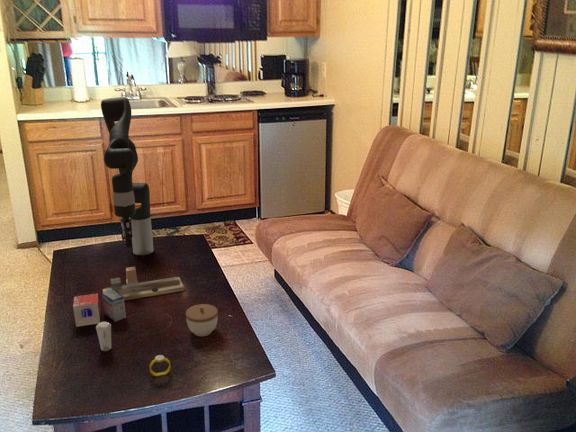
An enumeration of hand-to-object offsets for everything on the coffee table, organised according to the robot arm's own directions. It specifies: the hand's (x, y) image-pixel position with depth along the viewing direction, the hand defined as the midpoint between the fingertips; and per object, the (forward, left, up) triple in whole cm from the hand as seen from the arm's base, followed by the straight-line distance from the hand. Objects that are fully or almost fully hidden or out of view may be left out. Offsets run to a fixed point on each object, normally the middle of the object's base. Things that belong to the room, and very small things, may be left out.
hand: (128, 243), depth 197 cm
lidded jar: (+38, +19, -21) cm, 47 cm away
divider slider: (0, 0, -19) cm, 19 cm away
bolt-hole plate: (0, +4, -21) cm, 21 cm away
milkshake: (+37, -12, -21) cm, 44 cm away
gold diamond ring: (+57, +2, -21) cm, 61 cm away
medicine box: (+16, -8, -21) cm, 28 cm away
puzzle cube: (+15, -17, -21) cm, 31 cm away
